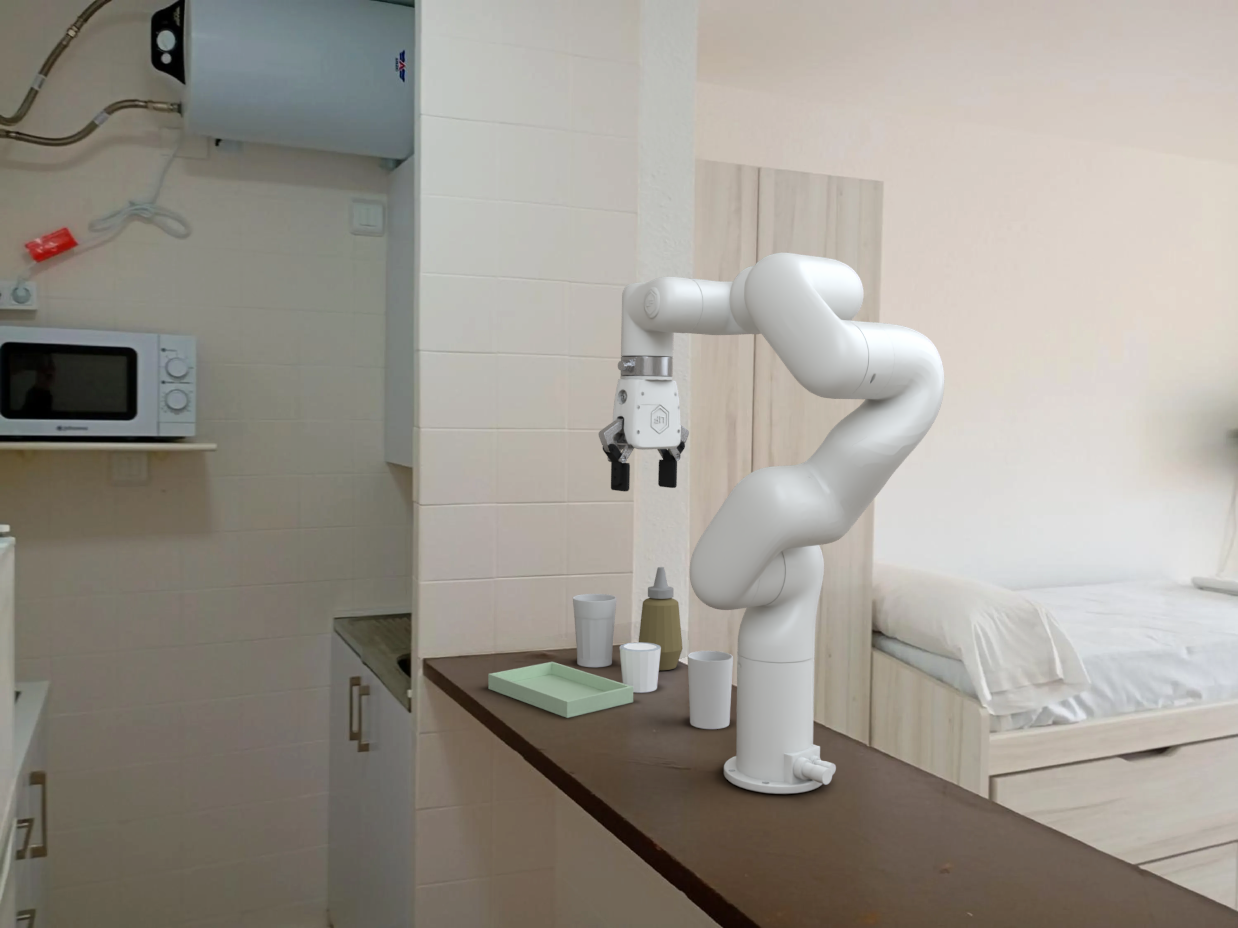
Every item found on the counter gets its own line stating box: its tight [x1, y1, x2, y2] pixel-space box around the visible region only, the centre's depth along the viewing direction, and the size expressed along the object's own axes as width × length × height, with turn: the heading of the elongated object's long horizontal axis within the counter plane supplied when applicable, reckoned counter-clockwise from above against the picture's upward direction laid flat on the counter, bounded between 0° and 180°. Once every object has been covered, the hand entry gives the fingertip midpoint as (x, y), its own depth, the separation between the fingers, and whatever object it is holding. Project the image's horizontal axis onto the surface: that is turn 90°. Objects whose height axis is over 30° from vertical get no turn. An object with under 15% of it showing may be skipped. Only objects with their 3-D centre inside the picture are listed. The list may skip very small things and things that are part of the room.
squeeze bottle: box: [638, 566, 683, 671], centre depth 184 cm, size 8×8×18 cm
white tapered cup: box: [619, 641, 661, 694], centre depth 171 cm, size 7×7×7 cm
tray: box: [487, 661, 634, 719], centre depth 166 cm, size 21×13×2 cm, turn 41°
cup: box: [572, 593, 618, 668], centre depth 188 cm, size 8×8×12 cm
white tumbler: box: [687, 650, 734, 730], centre depth 152 cm, size 7×7×10 cm
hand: (644, 488), depth 149 cm, fingers open, 9 cm apart
